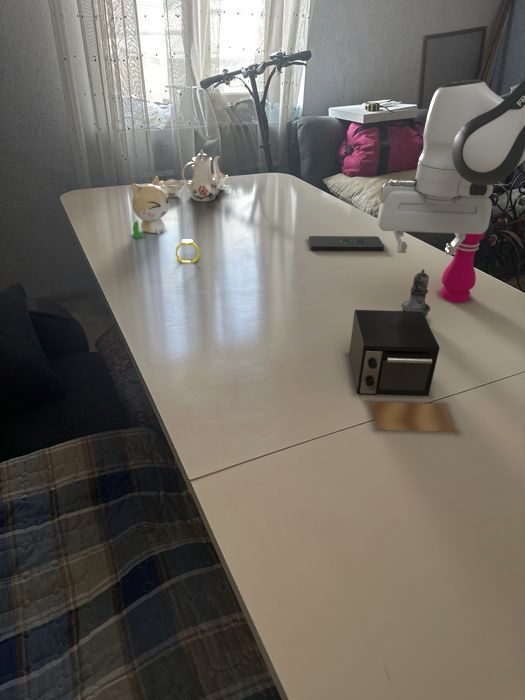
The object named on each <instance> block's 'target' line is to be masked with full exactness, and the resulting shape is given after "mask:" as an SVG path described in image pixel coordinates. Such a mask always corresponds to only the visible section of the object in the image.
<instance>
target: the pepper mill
mask: <svg viewBox="0 0 525 700" xmlns="http://www.w3.org/2000/svg"><path fill="white" fill-rule="evenodd" d="M485 234H486V231H485V232H484V233H482V234H466V236H465V239H464V240H463V241H462V243H461V244H460V245H459V246H458V247H457V248H456V252H455V255H453V258H452V260H451V261H450V263H449V264H448V266H447V267H446V268H445V270H444V271H443V274H442V276H441V283H442V285H443V286H442V287H441V290H440V297H441V299H444V300H446V301H448V302H452V303H466V302H468V301H469V299H470V296H471V292H470V290H472V289H474V287H475V285H476V281H477V275H476V270H475V266H474V258H475V254H476V251H478V250H479V246H480V245H481V243H480V241H481V240H482V239H484V237H485Z"/></svg>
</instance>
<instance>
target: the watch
mask: <svg viewBox="0 0 525 700" xmlns="http://www.w3.org/2000/svg"><path fill="white" fill-rule="evenodd" d="M182 246H193V247H194V248H195V249H196V251H197V255H196V257H195V258H194V259H192V261H191V260H188V259H187V260H184V259H182V258H181V257H180V256H179V254H178V252H179V249H180V247H182ZM175 257H176V259H177V260H178V262H180V263H181V264H187V263H188V264H189V263H196V262H197V261H198V260H199V258H200V249H199V246H198V245H197V244H196V243H195V242H194V240H193V239H191V238H185V239H182V240H181V242H180V243H178V245H177V246H176V248H175Z"/></svg>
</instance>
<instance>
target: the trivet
mask: <svg viewBox="0 0 525 700" xmlns="http://www.w3.org/2000/svg"><path fill="white" fill-rule="evenodd" d="M370 406H371V409H372V414H373V419H374V424H375V428H376V430H386V431H414V432H415V431H417V432H421V431H422V432H445V433H446V432H448V433H449V432H450V433H456V430H455V427H454V425H453V422H452V420H451V418H450V416H449V413H448V411H447V408H446V405H445V403H423V402H422V403H421V402H420V403H419V402H389V401H388V402H387V401H386V402H384V401H370Z"/></svg>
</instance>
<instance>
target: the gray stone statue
mask: <svg viewBox="0 0 525 700" xmlns="http://www.w3.org/2000/svg"><path fill="white" fill-rule="evenodd" d="M429 280H430V276H429V275H428V274H427V273H426V271H425V269H424V268H422V269H421V272H417V273H415V275H414V277H413V281H412V286H411V287H410V288H409V291H410V296H409V299H408V300H405V301H403V302H402V303H401V305H400V307H401V311H420V312H423V314H424V316H425V318H426V317H427V316H428V314H429V313H430V312H431V306H430V305H429V304H428V303H426V297H427V294H428V293H429V289H428V286H429Z"/></svg>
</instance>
